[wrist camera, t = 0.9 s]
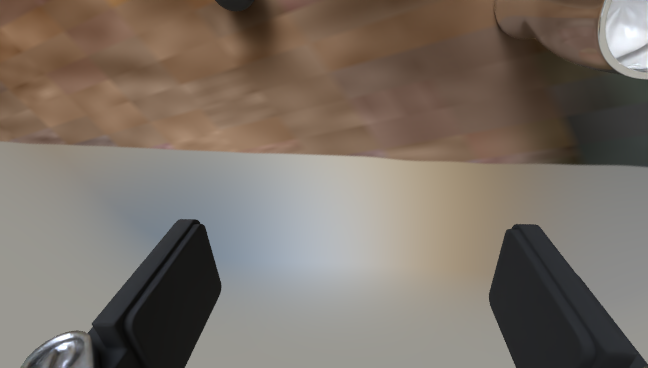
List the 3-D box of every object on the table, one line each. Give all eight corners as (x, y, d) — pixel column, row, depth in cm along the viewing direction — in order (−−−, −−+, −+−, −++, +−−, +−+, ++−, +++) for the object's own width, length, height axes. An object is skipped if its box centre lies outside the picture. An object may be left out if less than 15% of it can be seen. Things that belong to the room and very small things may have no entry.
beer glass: (580, 28, 28) (763, 56, 15) (493, 55, 30) (591, 102, 17) (581, -68, 25) (812, -134, 12) (484, -31, 27) (595, -54, 14)
